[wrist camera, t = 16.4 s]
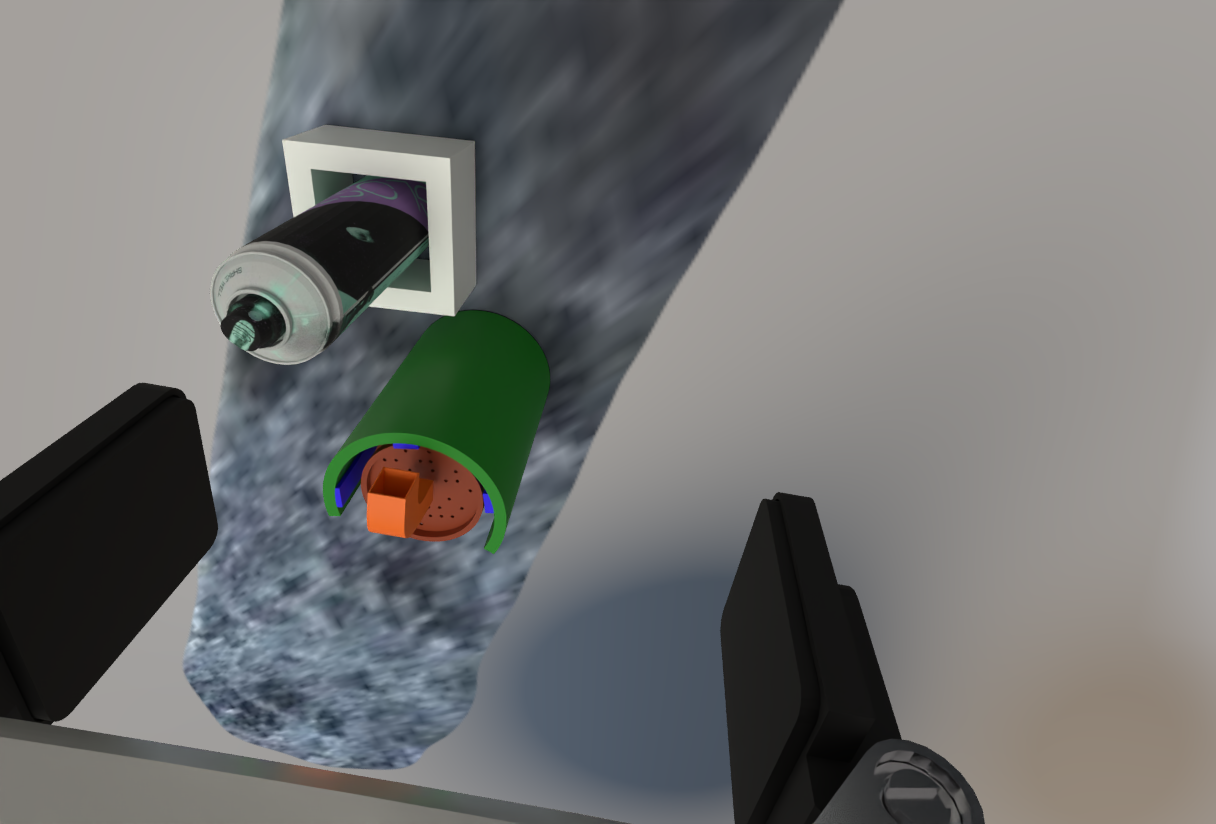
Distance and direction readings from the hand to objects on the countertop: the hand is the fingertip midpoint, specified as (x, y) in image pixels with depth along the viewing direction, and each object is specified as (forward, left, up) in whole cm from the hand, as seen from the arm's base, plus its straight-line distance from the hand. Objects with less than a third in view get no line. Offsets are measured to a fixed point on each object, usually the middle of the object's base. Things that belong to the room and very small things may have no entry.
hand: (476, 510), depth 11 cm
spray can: (+6, -14, -36) cm, 39 cm away
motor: (+17, -9, -36) cm, 40 cm away
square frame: (+6, -14, -35) cm, 38 cm away
